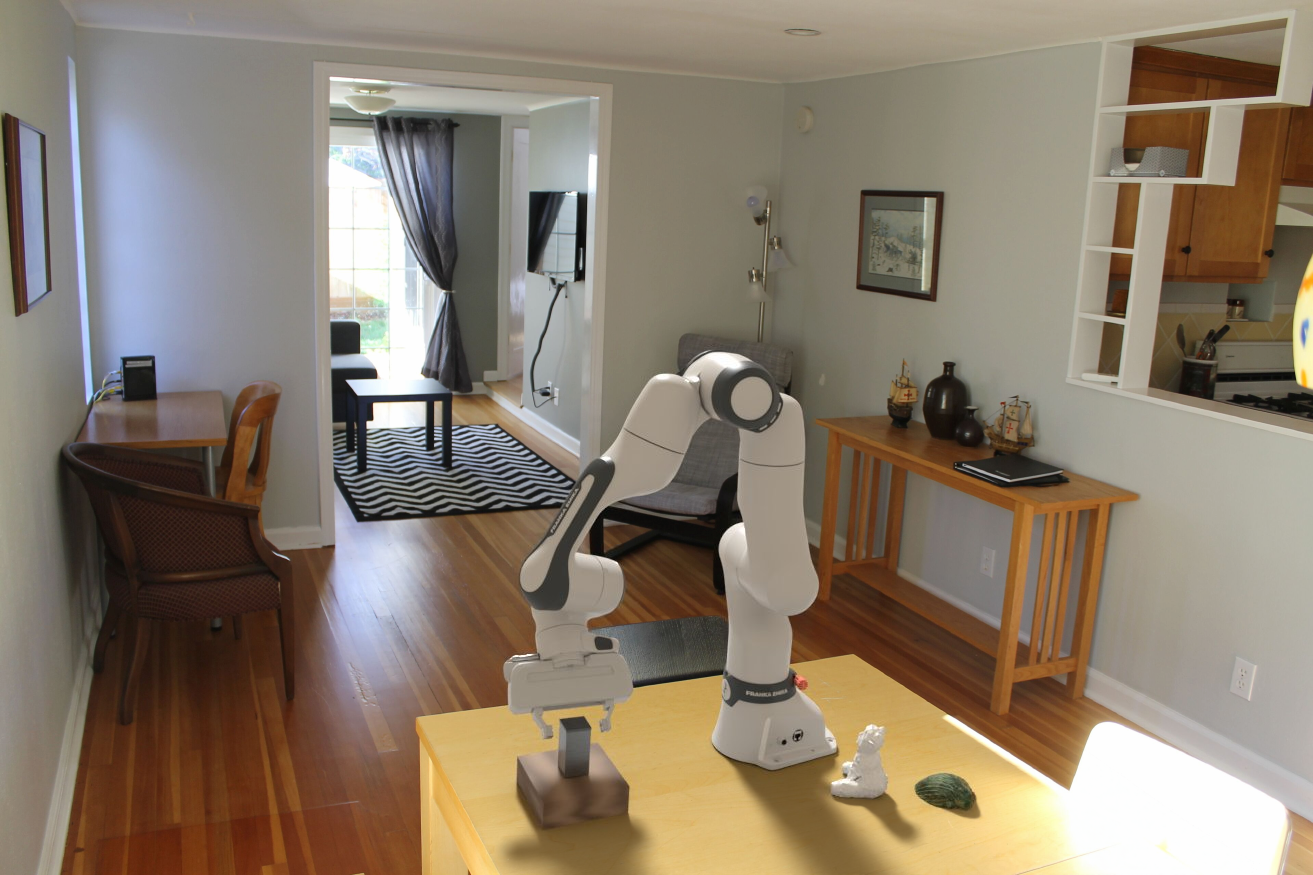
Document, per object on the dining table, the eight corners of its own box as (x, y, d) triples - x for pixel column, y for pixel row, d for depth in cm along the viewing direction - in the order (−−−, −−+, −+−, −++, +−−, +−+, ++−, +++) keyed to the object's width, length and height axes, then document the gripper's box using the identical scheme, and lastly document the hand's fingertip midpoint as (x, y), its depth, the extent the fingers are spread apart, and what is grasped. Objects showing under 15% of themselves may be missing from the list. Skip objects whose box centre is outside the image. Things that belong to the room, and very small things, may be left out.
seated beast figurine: (843, 768, 174) (850, 705, 172) (893, 783, 171) (901, 718, 168) (828, 795, 166) (835, 728, 164) (879, 810, 163) (887, 743, 160)
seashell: (952, 753, 174) (992, 784, 165) (950, 774, 175) (990, 806, 166) (904, 766, 170) (942, 799, 161) (902, 788, 171) (941, 821, 162)
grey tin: (581, 761, 163) (584, 715, 162) (589, 774, 160) (591, 727, 158) (557, 764, 162) (559, 718, 160) (564, 777, 158) (566, 730, 157)
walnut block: (596, 768, 171) (597, 742, 170) (628, 814, 158) (629, 786, 157) (516, 783, 165) (517, 756, 164) (542, 832, 152) (543, 802, 151)
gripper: (504, 649, 160) (515, 736, 153) (627, 638, 167) (642, 721, 160) (498, 663, 165) (508, 748, 158) (618, 652, 172) (632, 732, 165)
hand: (577, 734), depth 159 cm, fingers open, 8 cm apart
